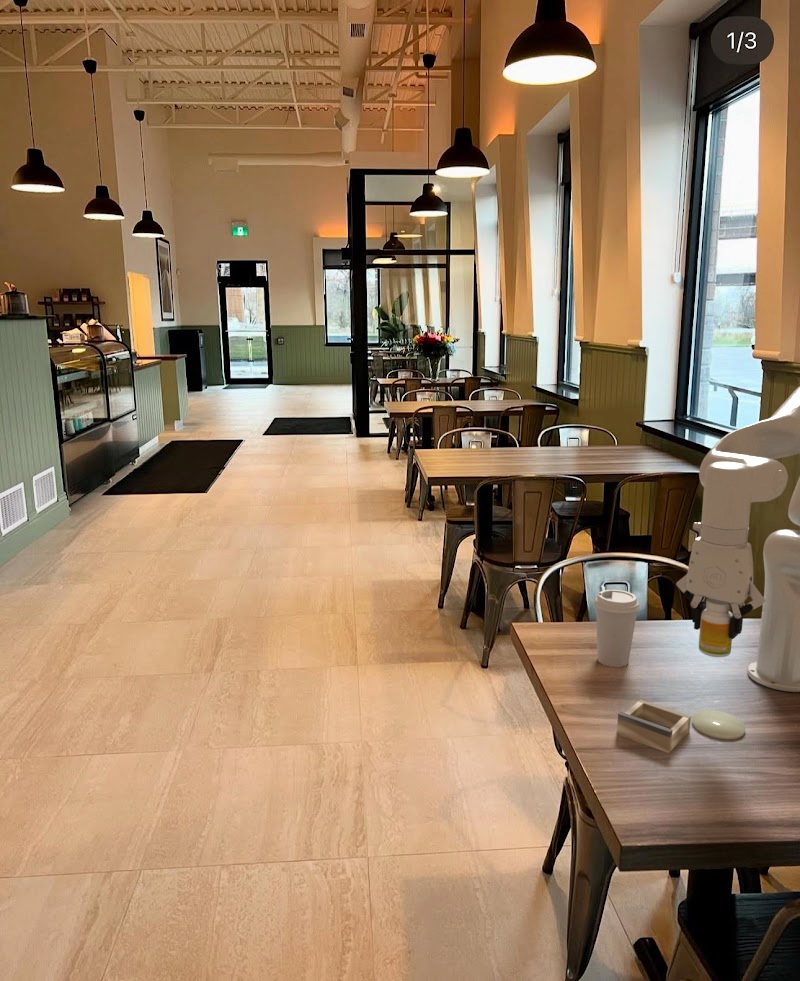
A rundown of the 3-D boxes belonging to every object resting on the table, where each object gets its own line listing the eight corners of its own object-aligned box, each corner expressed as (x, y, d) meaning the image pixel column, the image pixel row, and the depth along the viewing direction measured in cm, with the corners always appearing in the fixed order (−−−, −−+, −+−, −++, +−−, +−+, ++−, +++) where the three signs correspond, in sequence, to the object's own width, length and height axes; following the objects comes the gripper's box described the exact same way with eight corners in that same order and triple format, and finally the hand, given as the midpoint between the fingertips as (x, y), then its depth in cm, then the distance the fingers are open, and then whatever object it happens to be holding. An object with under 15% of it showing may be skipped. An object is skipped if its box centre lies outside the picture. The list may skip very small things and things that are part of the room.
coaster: (702, 709, 146) (702, 705, 146) (751, 725, 140) (752, 721, 140) (684, 727, 140) (684, 723, 139) (735, 745, 134) (735, 740, 134)
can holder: (639, 714, 144) (640, 694, 143) (689, 731, 138) (691, 711, 137) (616, 734, 137) (618, 713, 136) (668, 753, 131) (670, 732, 130)
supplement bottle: (733, 659, 134) (738, 607, 131) (700, 657, 135) (704, 605, 132) (727, 646, 139) (732, 595, 136) (696, 643, 140) (700, 594, 138)
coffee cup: (601, 647, 173) (605, 585, 170) (642, 659, 167) (647, 594, 164) (582, 662, 166) (586, 596, 163) (624, 674, 160) (629, 607, 157)
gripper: (666, 530, 135) (660, 626, 139) (769, 549, 123) (759, 652, 128) (683, 520, 140) (677, 613, 144) (784, 538, 129) (774, 637, 133)
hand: (716, 630), depth 136 cm, fingers closed on supplement bottle, 5 cm apart
